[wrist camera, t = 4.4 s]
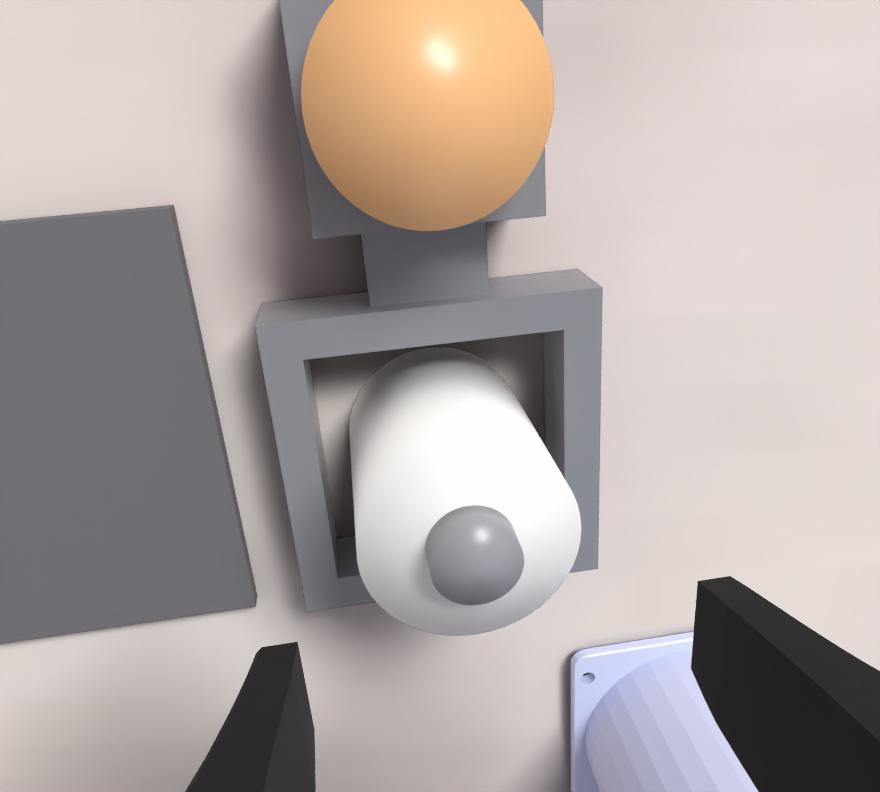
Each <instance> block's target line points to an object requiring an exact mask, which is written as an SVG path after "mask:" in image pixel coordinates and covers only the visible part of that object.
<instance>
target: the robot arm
mask: <svg viewBox="0 0 880 792" xmlns="http://www.w3.org/2000/svg"><path fill="white" fill-rule="evenodd" d="M585 673H589V674H588V675H585V676H582V675H583V674H585ZM185 792H315V740H314V726H313V721H312V715H311V710H310V705H309V700H308V694H307V689H306V684H305V679H304V674H303V668H302V663H301V658H300V653H299V648H298V642H294V643H287V644H281V645H274V646H267V647H262V648H261V649H260V650H259V651H258V652H257V653H256V655H255V658H254V660H253V663H252V665H251V668H250V670H249V672H248V675H247V677H246V679H245V681H244V684H243V686H242V688H241V690H240V692H239V694H238V696H237V699H236V701H235V703H234V705H233V707H232V709H231V711H230V713H229V715H228V717H227V719H226V721H225V723H224V724H223V726H222V728H221V730H220V732H219V734H218V736H217V738H216V740H215V741H214V743H213V745H212V747H211V749H210V751H209V753H208V754H207V756H206V758H205V760H204V761H203V763H202V765H201V766H200V768H199V770H198V771H197V773H196V775H195V776H194V778H193V780H192V781H191V783H190V785H189V786H188V788H187V790H186V791H185ZM571 792H880V671H878V670H877V669H875V668H873V667H871V666H870V665H868V664H866V663H865V662H863V661H861V660H860V659H858V658H856V657H855V656H853V655H851V654H850V653H848V652H846V651H845V650H843V649H842V648H840V647H838V646H837V645H835V644H833V643H832V642H830V641H829V640H827V639H826V638H824V637H822V636H821V635H819V634H818V633H816V632H815V631H813V630H812V629H810V628H809V627H807V626H805V625H804V624H802V623H801V622H799V621H798V620H796V619H795V618H793V617H792V616H790V615H789V614H787V613H786V612H784V611H783V610H781V609H780V608H778V607H777V606H775V605H774V604H772V603H771V602H769V601H768V600H766V599H765V598H763V597H762V596H760V595H759V594H757V593H756V592H754V591H753V590H751V589H750V588H748V587H746V586H745V585H743V584H742V583H740V582H739V581H737V580H735V579H734V578H732V577H730V576H729V577H722V578H715V579H709V580H702V581H698V587H697V599H696V611H695V623H694V632H688V633H682V634H676V635H669V636H663V637H657V638H650V639H644V640H638V641H632V642H625V643H619V644H613V645H606V646H600V647H594V648H588V649H583V650H580V651H578V652H577V653H575V654H574V656H573V657H572V659H571Z"/></svg>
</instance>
